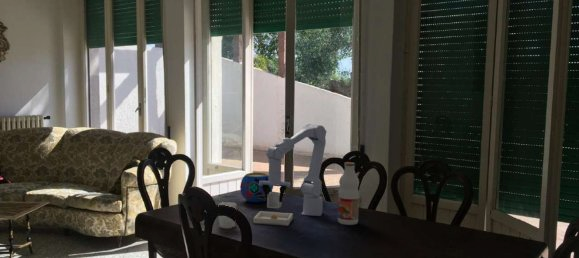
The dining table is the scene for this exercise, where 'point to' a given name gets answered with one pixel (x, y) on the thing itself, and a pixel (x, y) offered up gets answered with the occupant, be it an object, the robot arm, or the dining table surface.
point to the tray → (266, 219)
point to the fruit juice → (348, 196)
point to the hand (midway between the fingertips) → (274, 201)
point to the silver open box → (273, 200)
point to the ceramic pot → (254, 187)
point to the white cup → (226, 221)
